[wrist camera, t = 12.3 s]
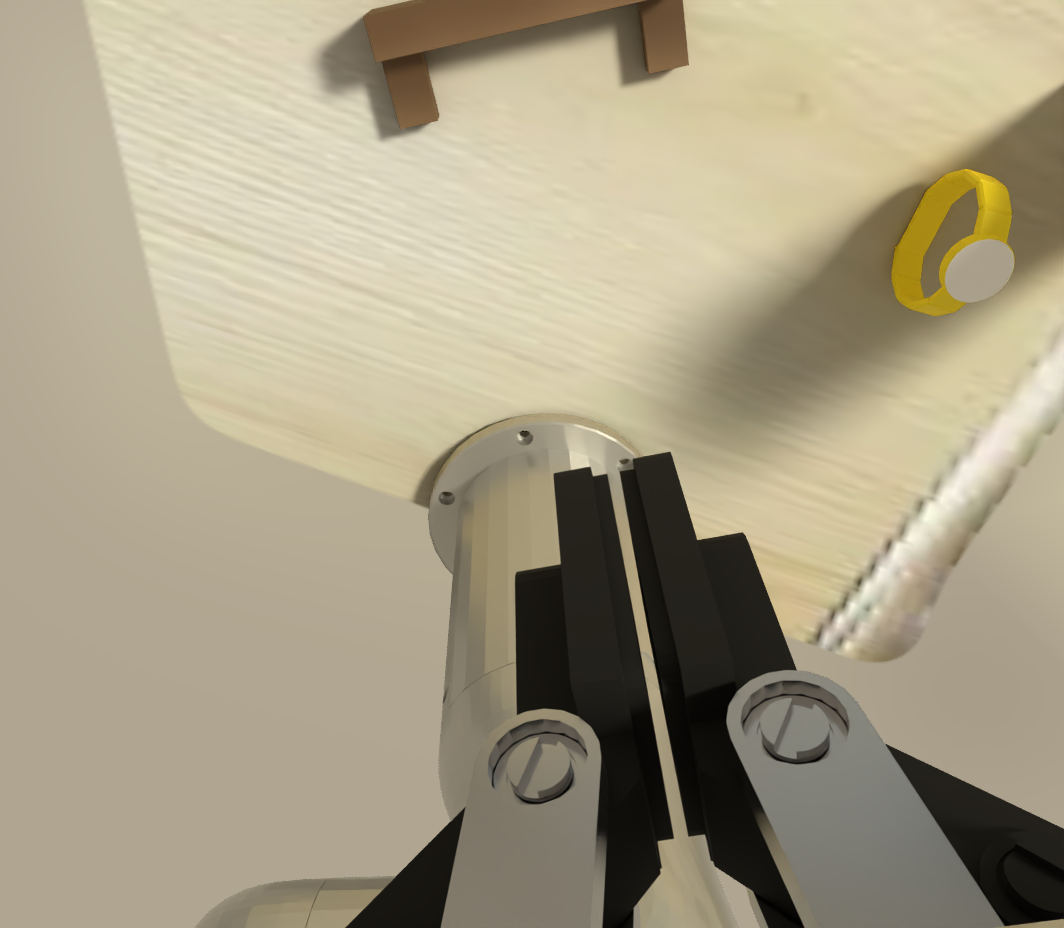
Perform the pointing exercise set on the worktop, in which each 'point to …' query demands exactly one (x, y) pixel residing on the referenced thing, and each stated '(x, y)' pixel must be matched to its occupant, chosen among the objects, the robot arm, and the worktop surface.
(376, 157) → the worktop surface
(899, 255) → the watch
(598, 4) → the wooden brackets
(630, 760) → the robot arm
